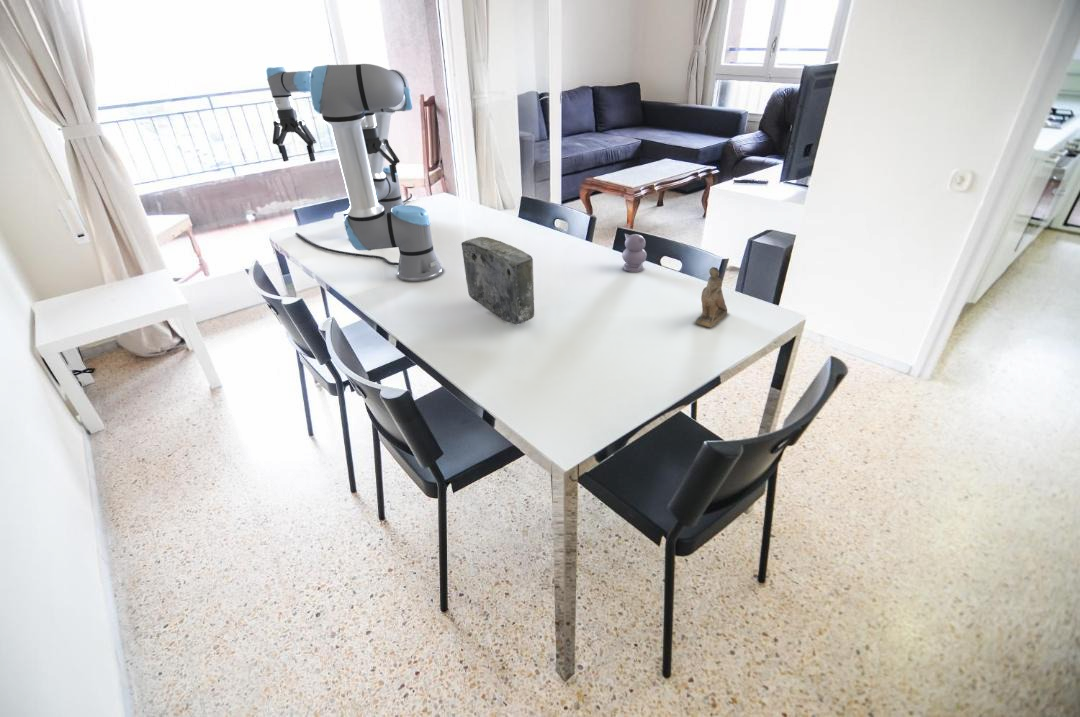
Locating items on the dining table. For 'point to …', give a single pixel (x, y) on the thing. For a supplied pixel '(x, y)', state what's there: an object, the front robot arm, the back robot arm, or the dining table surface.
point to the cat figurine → (634, 253)
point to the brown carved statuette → (712, 301)
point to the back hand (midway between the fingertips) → (299, 161)
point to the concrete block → (500, 278)
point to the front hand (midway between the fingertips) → (378, 184)
